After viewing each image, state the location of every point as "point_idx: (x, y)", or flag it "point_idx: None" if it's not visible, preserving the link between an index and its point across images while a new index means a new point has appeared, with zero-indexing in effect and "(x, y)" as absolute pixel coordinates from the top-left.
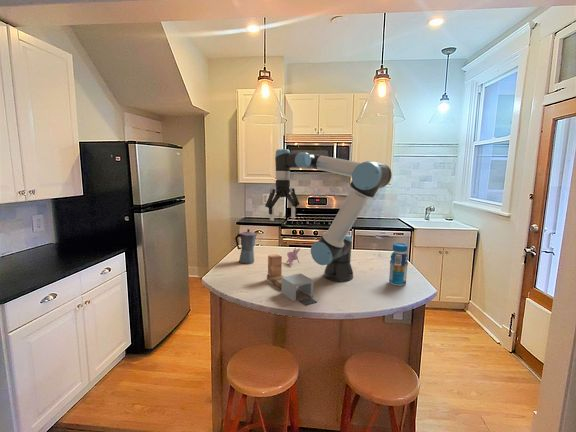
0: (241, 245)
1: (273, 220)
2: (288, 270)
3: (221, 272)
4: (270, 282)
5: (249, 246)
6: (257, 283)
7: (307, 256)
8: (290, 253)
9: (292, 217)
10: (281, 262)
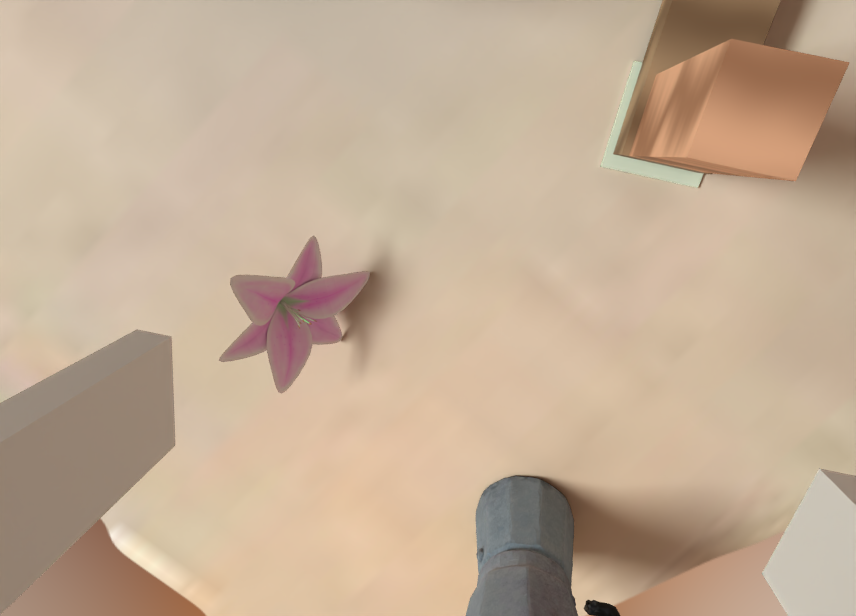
0: None
1: (843, 478)
2: (437, 217)
3: (784, 476)
4: None
5: (545, 577)
6: None
7: None
8: (281, 359)
9: (159, 411)
10: (704, 52)
